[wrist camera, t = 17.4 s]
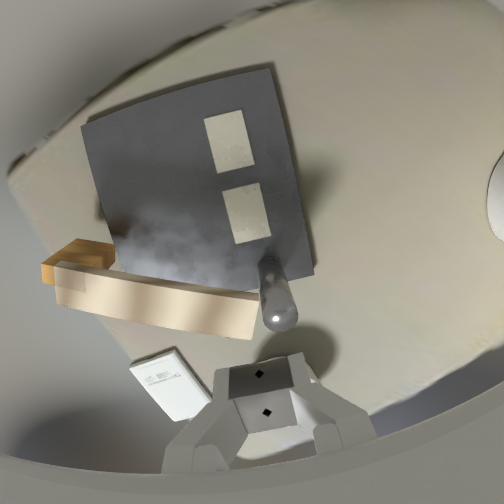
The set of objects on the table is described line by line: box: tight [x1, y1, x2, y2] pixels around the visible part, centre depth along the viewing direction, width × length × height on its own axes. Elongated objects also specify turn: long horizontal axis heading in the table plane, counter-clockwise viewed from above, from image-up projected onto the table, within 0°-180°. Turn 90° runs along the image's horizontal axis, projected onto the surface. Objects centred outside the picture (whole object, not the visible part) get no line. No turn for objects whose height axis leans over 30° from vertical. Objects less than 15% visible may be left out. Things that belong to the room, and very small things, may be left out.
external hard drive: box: [129, 349, 212, 421], centre depth 44 cm, size 2×8×12 cm
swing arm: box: [41, 239, 259, 340], centre depth 30 cm, size 20×4×8 cm, turn 80°
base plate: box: [80, 68, 314, 332], centre depth 29 cm, size 22×24×12 cm
